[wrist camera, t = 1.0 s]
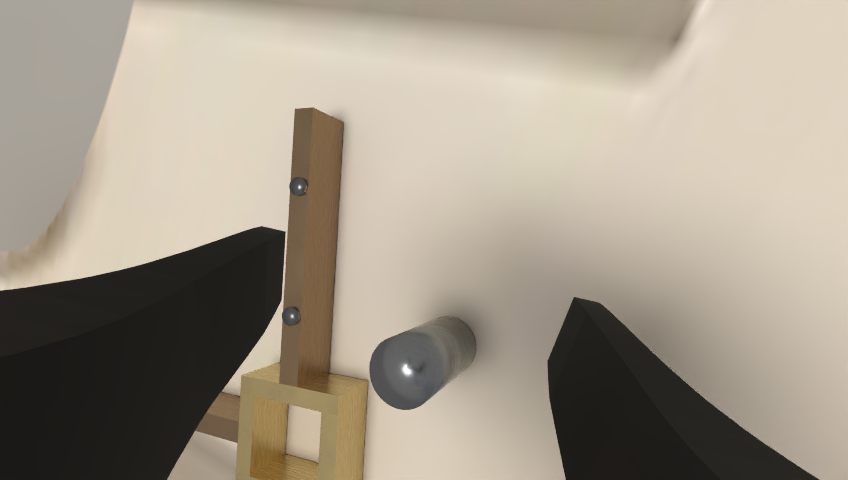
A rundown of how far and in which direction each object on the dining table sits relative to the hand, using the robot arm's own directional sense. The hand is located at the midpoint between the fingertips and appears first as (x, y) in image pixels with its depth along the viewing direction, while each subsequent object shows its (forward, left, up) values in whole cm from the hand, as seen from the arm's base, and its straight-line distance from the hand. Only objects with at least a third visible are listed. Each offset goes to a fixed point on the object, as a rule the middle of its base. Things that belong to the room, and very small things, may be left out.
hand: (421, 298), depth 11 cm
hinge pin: (-4, +3, -13) cm, 14 cm away
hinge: (-3, +19, -13) cm, 23 cm away
